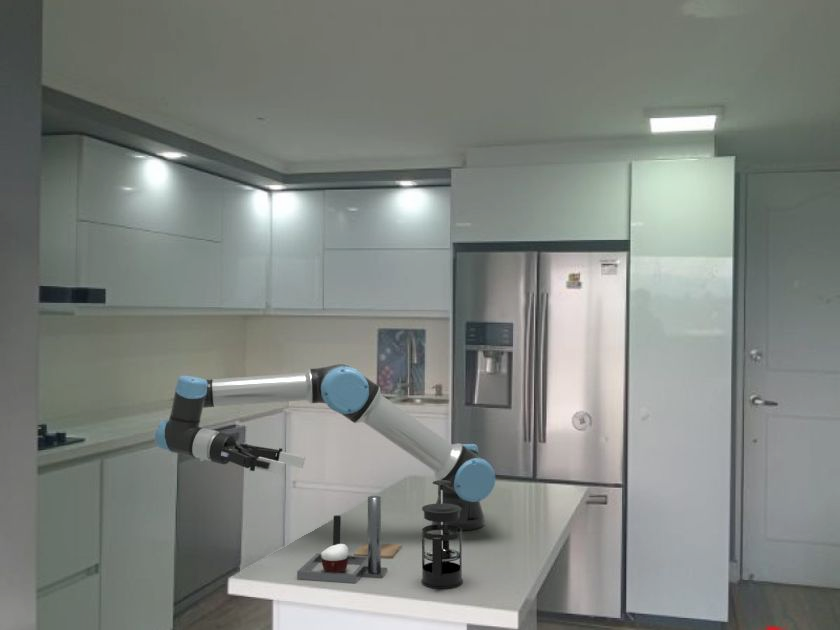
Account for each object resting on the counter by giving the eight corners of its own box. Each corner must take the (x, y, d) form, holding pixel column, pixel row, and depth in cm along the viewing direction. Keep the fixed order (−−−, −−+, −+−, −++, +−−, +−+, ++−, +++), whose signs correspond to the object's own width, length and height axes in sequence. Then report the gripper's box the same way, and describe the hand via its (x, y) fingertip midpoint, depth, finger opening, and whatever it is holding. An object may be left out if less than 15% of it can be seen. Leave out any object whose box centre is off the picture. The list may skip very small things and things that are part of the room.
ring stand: (391, 565, 192) (391, 490, 192) (377, 584, 178) (376, 504, 178) (317, 560, 196) (316, 487, 196) (297, 579, 182) (296, 501, 182)
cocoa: (337, 580, 182) (338, 529, 182) (313, 576, 185) (314, 525, 184) (356, 566, 191) (357, 517, 190) (333, 562, 193) (334, 514, 193)
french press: (426, 573, 186) (426, 475, 186) (466, 575, 184) (465, 477, 184) (415, 590, 175) (415, 486, 174) (457, 593, 173) (457, 488, 172)
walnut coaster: (401, 546, 207) (401, 544, 207) (392, 558, 197) (392, 556, 197) (364, 544, 209) (364, 542, 209) (354, 556, 199) (354, 553, 199)
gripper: (234, 456, 211) (308, 474, 206) (187, 466, 186) (270, 487, 182) (239, 428, 211) (313, 446, 206) (194, 435, 187) (276, 455, 182)
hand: (293, 465), depth 194 cm, fingers open, 13 cm apart
